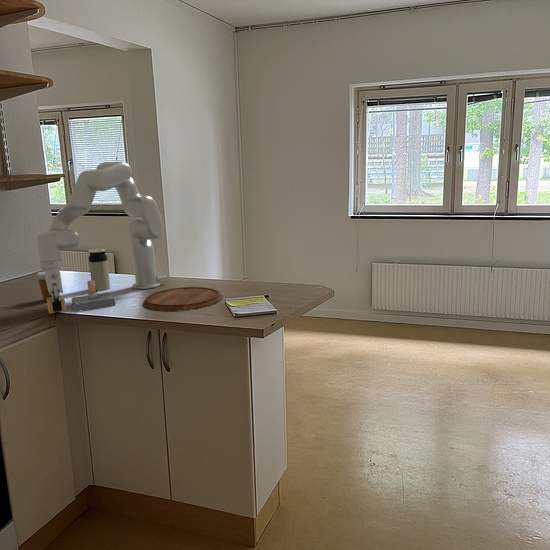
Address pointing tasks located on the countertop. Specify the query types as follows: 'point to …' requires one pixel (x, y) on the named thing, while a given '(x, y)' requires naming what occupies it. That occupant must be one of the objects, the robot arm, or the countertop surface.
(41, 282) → the disposable coffee cup
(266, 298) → the countertop surface
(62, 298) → the tan cardboard carton
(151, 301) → the cutting board
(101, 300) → the block
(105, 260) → the travel mug
